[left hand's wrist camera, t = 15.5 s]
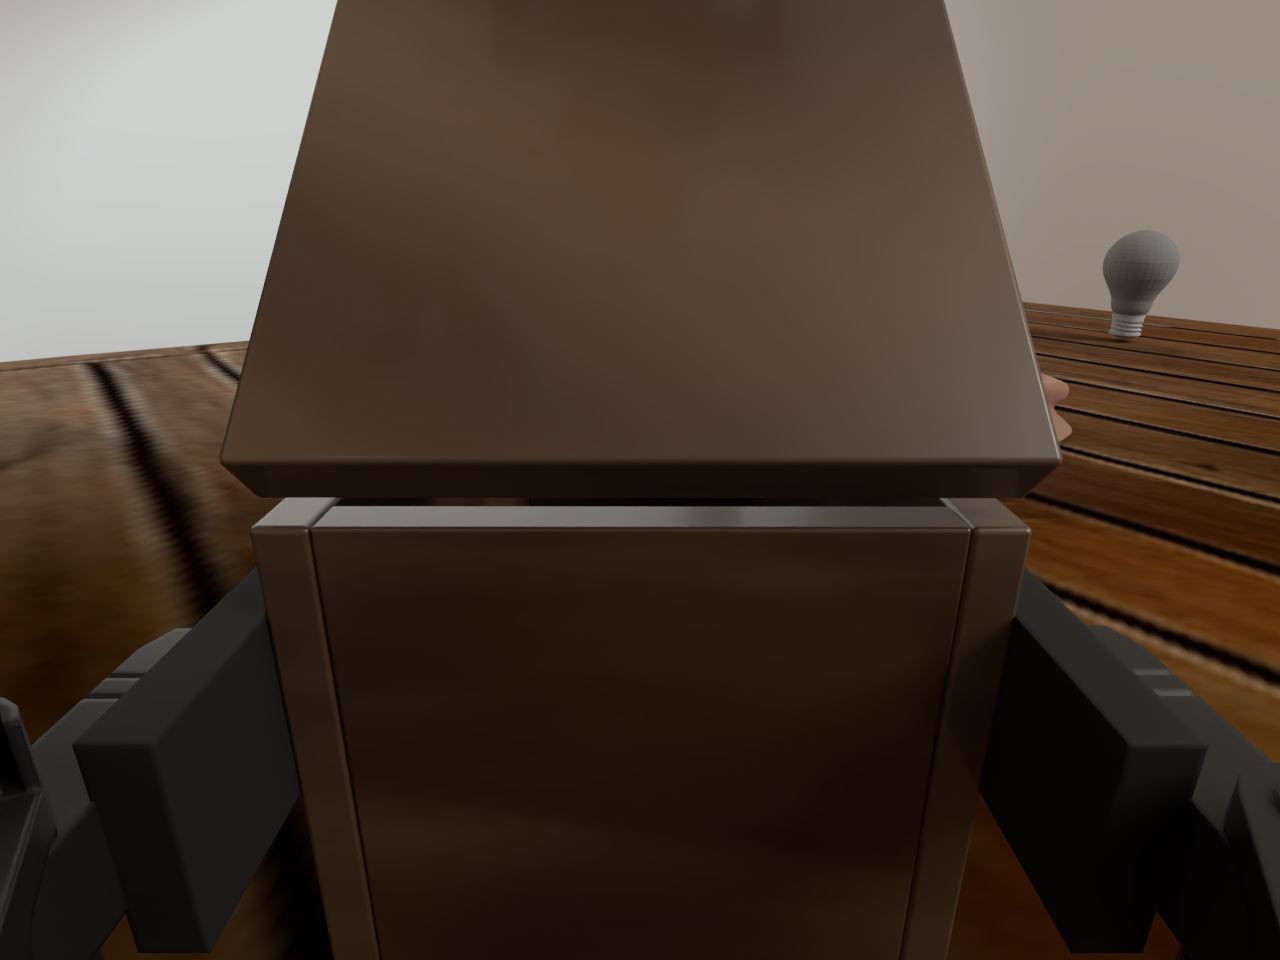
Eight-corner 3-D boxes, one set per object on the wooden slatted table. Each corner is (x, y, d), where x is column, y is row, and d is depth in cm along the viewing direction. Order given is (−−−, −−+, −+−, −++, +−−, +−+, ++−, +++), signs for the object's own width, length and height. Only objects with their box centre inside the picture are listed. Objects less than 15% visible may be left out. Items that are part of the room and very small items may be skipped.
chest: (516, 573, 28) (500, 311, 25) (761, 573, 28) (779, 311, 25) (354, 1076, 12) (245, 527, 9) (925, 1076, 12) (1035, 529, 9)
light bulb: (1103, 343, 71) (1127, 231, 68) (1078, 332, 77) (1099, 228, 73) (1172, 345, 70) (1200, 232, 67) (1142, 334, 76) (1167, 229, 73)
